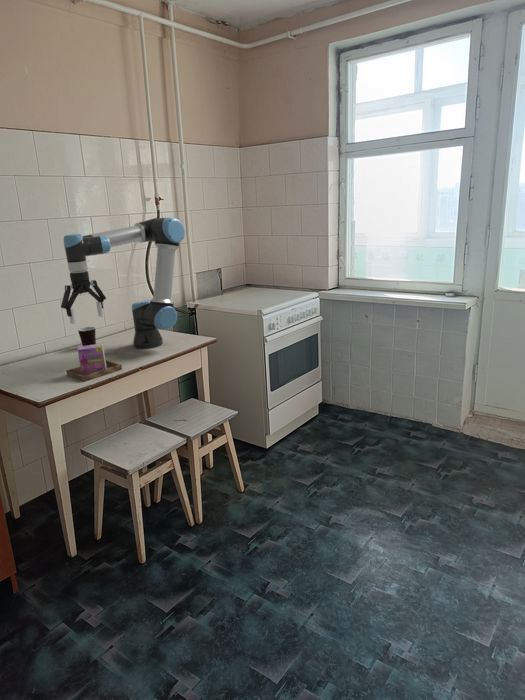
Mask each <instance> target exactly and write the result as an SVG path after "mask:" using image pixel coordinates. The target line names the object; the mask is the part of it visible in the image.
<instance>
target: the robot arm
mask: <svg viewBox="0 0 525 700" xmlns="http://www.w3.org/2000/svg"><path fill="white" fill-rule="evenodd" d="M185 230H186V229H185V226H184V224H183V223H182V221H180V220H179V219H178V218H175V217H154V218H150V219H147V220H145V221H139V222H136V223H134V225H132V226H128V227H127V226H126V227H121V228H117V229H111V230H107V231H106V230H105V231H101V232H97V233H91V234H86V235H82V234H81V233H73V234H66V235H64V236H63V247H64V250H65V251H64V252H65V255H66V256H65V257H66V260H67V261H66V262H67V266H68V267H67V268H68V272H69V278H70V283H71V285H67V284H66V285H64V293H63V297H62V301H61V305H60V308H61V309H65V310H66V311H65V312H66V316H67V317H69V322H70V324H72V325H75V324H76V319H75V315H74V309H73V308H72V307H73V305H74V303H75V301H76V298H77V297H79V295H82V294H86V293H88V294H89V295H90V296H91V297H93V298H94V299H95V300H96V302H95V303H96V304H95V305H96V309H97V316H98V317H101V318H102V317H104V313H103V309H104V304H103V303H104V301H105V300H107V298H106V295H105V294H104V293H103V291H102V290H101V288H100V287H99V285H98V282H97V280H95V279H91V280H90V274H89V271H88V269H89V268H88V264H87V257H89V256H95V255H104V254H108V253H109V252H110V251H111V248H113V247H117V246H122V245H128V244H132V243H136V242H139V243H146V242H147V243H148V242H151V243H153V242H154V245H155V247H156V248H157V253H156V262H155V263H156V264H155V265H156V266H155V276H154V286H153V297H152V298H151V299H147V300H142V301H137V302H133V303H132V305H131V313H132V319H133V327H134V336H133V341H132V345H133V348H135V349H143V350H144V349H151V348H156V347H160V346H162V345H163V343H164V341H163V337H162V335H161V333H160V331H159V330H169V329H171V328H173V327H174V325H175V324H176V322H177V320H178V313H177V310H176V309H175V308H174V305H175V304H174V301H173V300H172V293H173V292H172V291H173V282H174V281H173V280H174V270H175V258H176V250H178V249H179V248H180V243H181V242H182V241H183V240H184V238H185V235H186V234H185V233H186V231H185ZM91 287H92V288H93V289H94V290H95V291H94V290H93V289H92V288H91ZM71 291H72V292H71Z"/></svg>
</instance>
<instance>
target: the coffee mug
mask: <svg viewBox="0 0 525 700" xmlns="http://www.w3.org/2000/svg"><path fill="white" fill-rule="evenodd" d="M77 331H78V335H79V338H80V341H81V344H82V345H81V346H87V345H94V344H97V339H96V337H97V335H96V327H95V326H84V327H80V328H78V330H77Z"/></svg>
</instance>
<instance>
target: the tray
mask: <svg viewBox="0 0 525 700" xmlns="http://www.w3.org/2000/svg"><path fill="white" fill-rule="evenodd" d="M105 360H106V359H105ZM106 367H107V368H106V369H104V370H101V371H98V372H95V373H91V374H85V375H82V372H81V366H76V367H73V368H71V369H67V370H66V376H68V377H71V378H74V379H76V380H79V381H80V382H87V381H90V380H94V379H97V378H100V377H103V376H105V375H106V376H107V375H109V374H112V373H115V372H118V371H121V370H123V368H122V364H119V363H117V362H114V361H111V360H108V359H107V360H106Z"/></svg>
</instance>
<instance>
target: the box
mask: <svg viewBox="0 0 525 700" xmlns="http://www.w3.org/2000/svg"><path fill="white" fill-rule="evenodd" d="M77 355H78V359H79V360H78V361H79V365H80V366H81V372H82V375H85V374H91V373H95V372H98V371H101V370H104V369H106V368H107V367H106V354H105V350H104V344H103V343H96V344H94V345H87V346H83V345H81V346H80V345H79V346H78V347H77ZM80 366H79V367H80Z"/></svg>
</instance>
